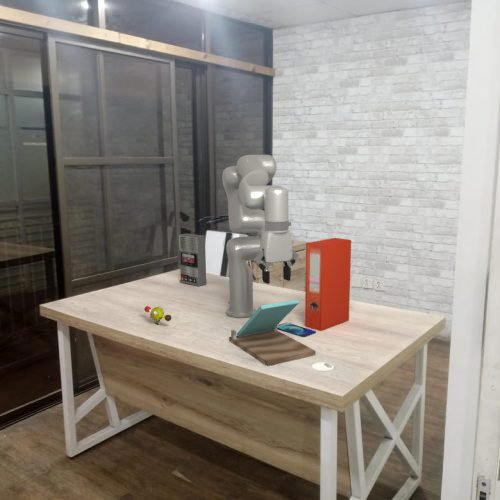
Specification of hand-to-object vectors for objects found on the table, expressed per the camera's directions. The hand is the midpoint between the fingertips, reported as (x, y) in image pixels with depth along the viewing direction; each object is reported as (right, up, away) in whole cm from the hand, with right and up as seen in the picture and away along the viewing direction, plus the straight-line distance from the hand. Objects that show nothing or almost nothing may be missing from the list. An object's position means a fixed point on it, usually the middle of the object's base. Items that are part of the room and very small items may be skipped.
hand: (276, 281), depth 168 cm
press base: (-2, -23, +8) cm, 24 cm away
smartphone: (+8, -20, +25) cm, 33 cm away
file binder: (+21, -19, +32) cm, 43 cm away
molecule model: (-44, -19, +35) cm, 59 cm away
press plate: (-3, -14, +8) cm, 16 cm away
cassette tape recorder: (-38, -7, +99) cm, 107 cm away
